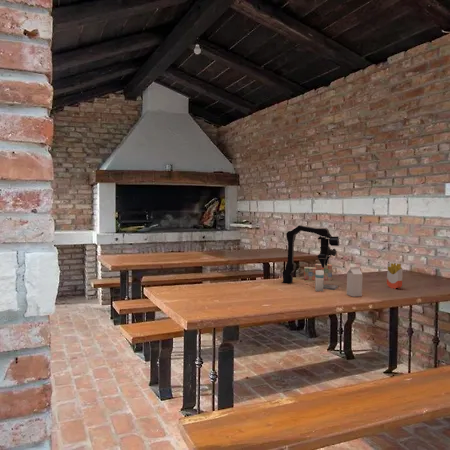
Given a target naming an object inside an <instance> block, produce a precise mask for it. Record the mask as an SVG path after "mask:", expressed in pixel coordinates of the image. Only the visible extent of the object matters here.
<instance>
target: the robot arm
mask: <svg viewBox="0 0 450 450" xmlns="http://www.w3.org/2000/svg"><path fill="white" fill-rule="evenodd" d="M300 232H307V233H311V234H316V235H318V236H319V237H318V238H317V240H320V246H319V249H320V253H319V254H318V255H317V259H318V261H319V264H321V265H322V267H323V268H324V266H327V264H329V263H328V262H329V259H330V258H331V257H332V256H333V257H335V256H336V255H337V253H338V251H337V248H330V246H332V247H339V246H340V238H339V236H338V235H337V236H332V234H330V230H329V229H328V228H326V227H323V228H322V227H317V228H316V227H310V226H306V225H302V224H301V225H298V226H296V227H295V228H294V229H291V230H288V231H286V236H285V237H286V241H287V262H286V263H285V264H286V265H285V269H284V270H283V271H282V283H283V284H292V283H293V281H294V276H293V273H294V272H295V270H296V269H297V267H296V265H297V263H295V261H294V258H295V257H294V256H295V254H294V253H295V251H294V248H295V241H296V237H297V235H298V234H299V233H300ZM329 245H330V246H329Z"/></svg>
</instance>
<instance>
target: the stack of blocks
mask: <svg viewBox="0 0 450 450" xmlns="http://www.w3.org/2000/svg"><path fill="white" fill-rule="evenodd" d="M314 265H315V267H314V266H312V267H311V266H304V267H303V279H304V280H309V281H315V278H316V277H315V275H316V270H323V271H324V281H332V280H333V279H332V276H333V264H329V263H328V264H327V266H324V268H323V267H322V265H321V263H315V264H314Z"/></svg>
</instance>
